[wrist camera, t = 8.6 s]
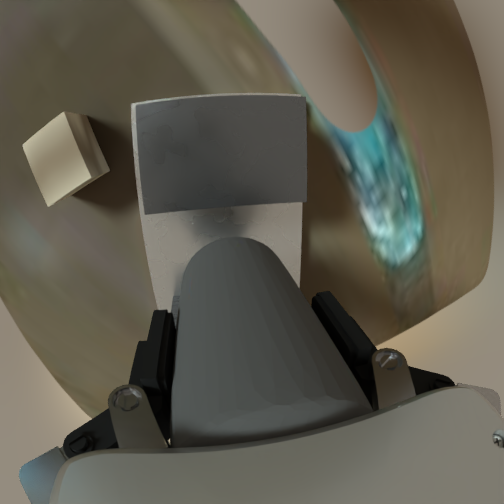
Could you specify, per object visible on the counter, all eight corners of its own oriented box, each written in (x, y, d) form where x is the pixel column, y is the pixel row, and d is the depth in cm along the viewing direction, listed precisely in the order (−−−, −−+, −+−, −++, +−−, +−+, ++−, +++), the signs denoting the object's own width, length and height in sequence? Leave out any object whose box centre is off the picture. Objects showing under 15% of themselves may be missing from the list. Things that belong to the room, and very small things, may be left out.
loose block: (48, 142, 17) (22, 145, 13) (86, 115, 17) (64, 111, 13) (71, 195, 19) (48, 207, 15) (110, 170, 19) (91, 177, 15)
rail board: (134, 105, 17) (108, 92, 12) (296, 96, 19) (329, 82, 13) (171, 352, 25) (168, 399, 20) (292, 338, 27) (312, 381, 22)
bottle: (263, 216, 14) (486, 539, 1) (298, 303, 17) (428, 541, 3) (161, 263, 14) (117, 606, 1) (210, 340, 17) (249, 595, 3)
